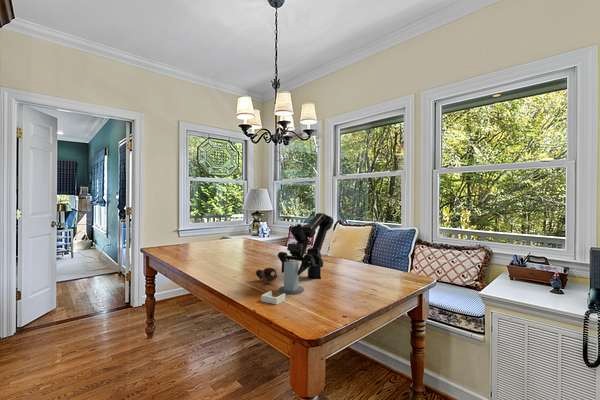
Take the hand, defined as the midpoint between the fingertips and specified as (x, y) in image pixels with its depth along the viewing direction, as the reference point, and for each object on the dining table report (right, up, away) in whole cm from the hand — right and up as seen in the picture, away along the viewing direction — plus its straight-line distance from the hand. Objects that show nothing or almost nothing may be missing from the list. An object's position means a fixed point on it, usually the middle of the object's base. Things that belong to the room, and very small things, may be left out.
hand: (289, 273), depth 136 cm
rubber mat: (+1, -8, +1) cm, 8 cm away
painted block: (+1, -8, +1) cm, 8 cm away
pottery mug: (-13, -8, +16) cm, 22 cm away
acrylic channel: (-7, -8, -12) cm, 16 cm away
